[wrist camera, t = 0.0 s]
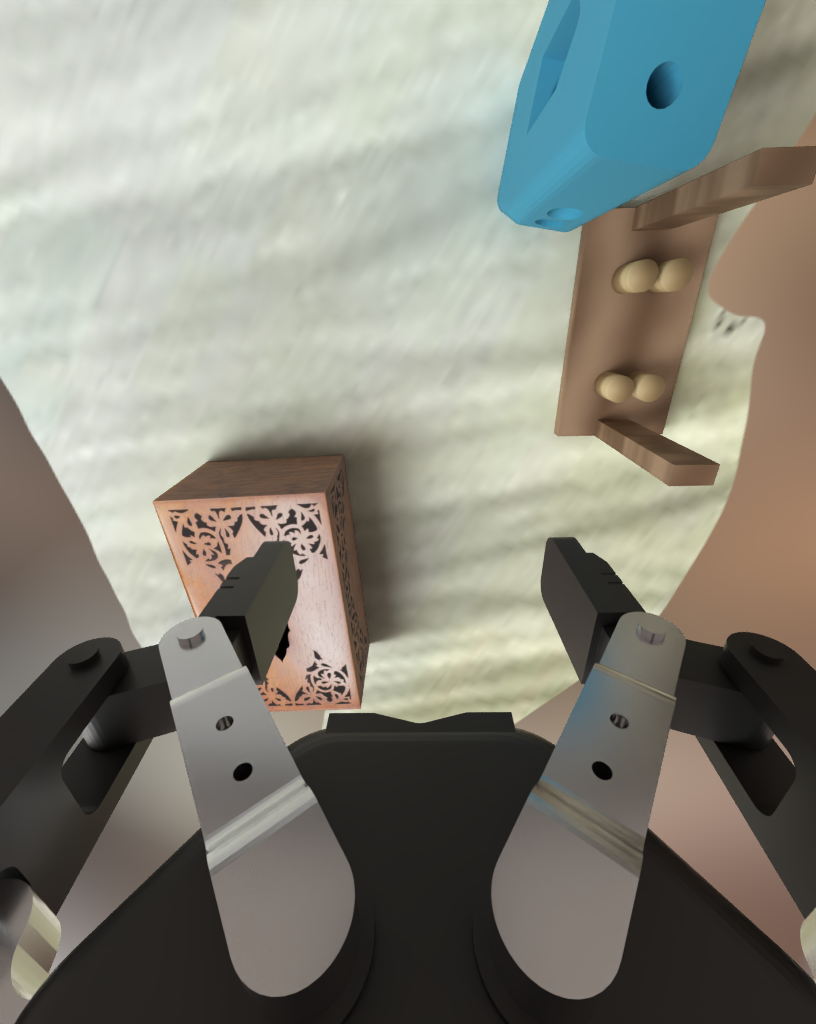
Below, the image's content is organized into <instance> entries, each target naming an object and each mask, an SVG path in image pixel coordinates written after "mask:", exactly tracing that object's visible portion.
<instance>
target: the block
mask: <svg viewBox="0 0 816 1024" xmlns="http://www.w3.org/2000/svg"><path fill="white" fill-rule="evenodd" d="M765 1H766V0H549V2H548V5H547V8H546V11H545V14H544V16H543V19H542V22H541V25H540V28H539V31H538V33H537V36H536V39H535V42H534V45H533V48H532V50H531V53H530V56H529V59H528V62H527V65H526V68H525V70H524V73H523V76H522V79H521V82H520V85H519V89H518V94H517V99H516V105H515V110H514V115H513V120H512V125H511V130H510V136H509V141H508V146H507V151H506V156H505V161H504V167H503V172H502V177H501V182H500V187H499V193H498V199H497V202H498V206H499V209H500V210H501V211H502V212H503V213H504V214H505V215H507V216H508V217H509V218H510V219H512V220H513V221H514V222H515V223H517V224H520V225H525V226H531V227H537V228H542V229H548V230H554V231H560V232H569V231H571V230H573V229H575V228H577V227H579V226H581V225H583V224H585V223H587V222H589V221H591V220H593V219H595V218H597V217H599V216H600V215H602V214H604V213H606V212H608V211H610V210H612V209H614V208H616V207H618V206H620V205H622V204H624V203H626V202H628V201H630V200H632V199H633V198H635V197H637V196H639V195H641V194H643V193H645V192H647V191H649V190H651V189H653V188H655V187H657V186H659V185H661V184H663V183H664V182H666V181H668V180H670V179H672V178H674V177H676V176H678V175H680V174H682V173H684V172H686V171H688V170H690V169H692V168H693V167H695V166H696V165H698V164H699V163H700V162H701V161H702V160H703V159H704V158H705V157H706V156H707V154H708V153H709V152H710V150H711V148H712V146H713V143H714V141H715V138H716V136H717V133H718V130H719V127H720V125H721V122H722V119H723V116H724V114H725V111H726V108H727V105H728V103H729V100H730V97H731V94H732V92H733V89H734V86H735V84H736V81H737V78H738V75H739V73H740V70H741V67H742V64H743V62H744V59H745V56H746V53H747V51H748V48H749V45H750V42H751V40H752V37H753V34H754V31H755V29H756V26H757V23H758V20H759V18H760V15H761V12H762V10H763V7H764V4H765Z"/></svg>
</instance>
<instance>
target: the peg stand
mask: <svg viewBox="0 0 816 1024" xmlns="http://www.w3.org/2000/svg"><path fill="white" fill-rule="evenodd" d="M815 174H816V146H805V147H776V148H762V149H759V150H757V151H755V152H753V153H751V154H749V155H747V156H745V157H742V158H740V159H738V160H736V161H734V162H732V163H730V164H728V165H725V166H723V167H721V168H719V169H717V170H715V171H713V172H710V173H708V174H706V175H704V176H702V177H700V178H698V179H696V180H693V181H691V182H689V183H687V184H685V185H683V186H681V187H679V188H676V189H674V190H672V191H670V192H668V193H666V194H664V195H662V196H659V197H657V198H655V199H653V200H651V201H649V202H647V203H645V204H642V205H640V206H638V207H636V208H614V209H612V210H610V211H608V212H606V213H604V214H602V215H600V216H599V217H597V218H595V219H593V220H591V221H589V222H587V223H585V224H583V225H582V232H581V240H580V247H579V254H578V262H577V269H576V276H575V284H574V291H573V298H572V306H571V313H570V320H569V328H568V335H567V343H566V350H565V357H564V365H563V372H562V379H561V387H560V394H559V401H558V409H557V416H556V424H555V431H554V433H555V434H556V435H557V436H592V435H595V436H596V437H597V438H599V439H600V440H602V441H603V442H605V443H606V444H608V445H609V446H611V447H612V448H614V449H615V450H617V451H618V452H620V453H621V454H622V455H624V456H625V457H627V458H628V459H630V460H631V461H633V462H634V463H636V464H637V465H639V466H640V467H642V468H643V469H644V470H646V471H647V472H649V473H650V474H652V475H653V476H655V477H656V478H658V479H659V480H661V481H662V482H664V483H665V484H667V485H668V486H700V485H713V484H714V481H715V478H716V475H717V472H718V469H719V466H720V464H718V463H716V462H714V461H712V460H710V459H708V458H706V457H704V456H702V455H700V454H698V453H696V452H694V451H692V450H690V449H688V448H686V447H684V446H682V445H680V444H678V443H676V442H674V441H672V440H670V439H668V438H666V437H664V436H662V435H660V434H663V430H664V426H665V422H666V418H667V414H668V410H669V406H670V402H671V398H672V394H673V390H674V387H675V383H676V379H677V375H678V371H679V367H680V363H681V359H682V355H683V351H684V347H685V343H686V339H687V336H688V332H689V328H690V324H691V320H692V316H693V312H694V308H695V304H696V300H697V296H698V292H699V288H700V285H701V281H702V277H703V273H704V269H705V265H706V261H707V257H708V253H709V249H710V245H711V241H712V237H713V234H714V230H715V226H716V222H717V218H718V214H720V213H724V212H727V211H730V210H733V209H736V208H739V207H742V206H745V205H748V204H752V203H755V202H758V201H761V200H764V199H767V198H770V197H773V196H777V195H780V194H782V193H786V192H789V191H792V190H795V189H798V188H801V187H805V186H808V185H810V184H812V183H813V180H814V177H815Z"/></svg>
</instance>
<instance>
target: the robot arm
mask: <svg viewBox="0 0 816 1024" xmlns="http://www.w3.org/2000/svg"><path fill="white" fill-rule="evenodd" d="M541 593H542V597H543V600H544V602H545V605H546V607H547V609H548V611H549V613H550V616H551V618H552V620H553V622H554V624H555V627H556V629H557V631H558V633H559V636H560V638H561V640H562V642H563V644H564V647H565V649H566V651H567V653H568V655H569V658H570V660H571V662H572V664H573V667H574V669H575V671H576V673H577V675H578V678H579V680H580V682H581V684H585V685H584V687H583V689H582V691H581V693H580V696H579V698H578V700H577V702H576V704H575V706H574V708H573V710H572V713H571V715H570V717H569V719H568V721H567V723H566V725H565V727H564V730H563V732H562V734H561V736H560V738H559V740H558V742H557V744H556V746H555V745H554V744H552V743H551V742H549V741H547V740H546V739H544V738H542V737H540V736H538V735H535V734H533V733H531V732H528V731H525V730H522V729H518V728H515V726H514V722H513V718H512V713H511V712H466V713H462V714H458V715H454V716H450V717H446V718H442V719H438V720H434V721H430V722H426V723H414V722H409V721H405V720H401V719H397V718H392V717H388V716H384V715H380V714H376V713H329V718H328V723H327V727H326V729H323V730H320V731H317V732H314V733H311V734H309V735H307V736H305V737H303V738H301V739H299V740H298V741H295V742H294V743H292V744H291V745H289V746H288V747H287V746H286V744H285V742H284V740H283V738H282V736H281V734H280V732H279V730H278V728H277V726H276V724H275V722H274V720H273V718H272V717H271V714H270V712H269V710H268V708H267V706H266V704H265V702H264V700H263V698H262V696H261V694H260V692H259V690H258V688H257V686H256V685H263V683H264V680H265V678H266V675H267V673H268V670H269V668H270V665H271V663H272V660H273V658H274V656H275V653H276V651H277V648H278V646H279V643H280V641H281V638H282V636H283V633H284V631H285V628H286V626H287V623H288V621H289V618H290V616H291V613H292V611H293V608H294V606H295V604H296V601H297V596H298V580H297V575H296V569H295V563H294V557H293V552H292V546H291V544H290V542H289V541H264V542H263V543H262V545H261V546H260V548H259V549H258V551H257V552H256V554H255V555H254V557H246V558H245V559H244V560H242V561H241V562H239V563H238V564H237V565H235V566H234V567H233V568H232V570H231V571H230V572H229V574H228V575H227V577H226V580H224V581H223V582H222V584H221V585H220V589H217V591H216V592H215V594H214V595H213V596H212V598H211V599H210V601H209V602H208V604H207V605H206V606H205V608H204V609H203V611H202V612H201V613H200V615H199V616H198V617H196V618H192V619H189V620H186V621H183V622H181V623H179V624H177V625H175V626H174V627H172V628H171V629H170V630H169V631H167V632H166V633H165V634H164V635H163V637H162V638H161V640H160V642H159V644H157V645H153V646H149V647H145V648H140V649H137V650H132V651H128V652H124V650H123V648H122V646H121V643H120V642H119V641H118V640H117V639H114V638H97V639H92V640H89V641H86V642H83V643H81V644H78V645H76V646H74V647H72V648H71V649H69V650H67V651H66V652H64V653H63V654H62V655H60V656H59V657H58V658H56V659H55V660H54V661H53V662H52V663H51V664H50V666H49V667H48V668H47V669H46V670H45V671H44V672H43V673H42V674H41V675H40V676H39V677H38V678H37V679H36V680H35V681H34V682H33V683H32V684H31V686H30V687H29V688H28V689H27V690H26V691H25V692H24V693H23V694H22V695H21V696H20V697H19V698H18V699H17V700H16V701H15V702H14V703H13V704H12V706H10V708H9V709H8V710H7V711H6V712H5V713H4V714H3V715H2V716H1V717H0V1024H816V671H815V670H814V669H813V668H812V667H811V666H810V665H809V664H808V663H807V662H806V661H805V660H804V659H803V658H802V657H801V656H800V655H799V654H797V653H796V652H795V651H794V650H792V649H791V648H789V647H788V646H786V645H784V644H783V643H781V642H779V641H777V640H774V639H772V638H769V637H766V636H763V635H759V634H756V633H750V632H738V633H734V634H731V635H730V636H729V637H728V638H727V640H726V643H725V645H724V647H720V646H714V645H710V644H705V643H700V642H695V641H691V640H687V639H685V636H684V634H683V633H682V632H681V630H680V629H679V628H678V627H677V626H676V625H674V624H673V623H671V622H670V621H668V620H666V619H664V618H662V617H660V616H657V615H654V614H651V613H646V612H645V610H644V609H643V608H642V607H641V605H640V604H639V603H638V601H637V600H636V599H635V598H634V596H633V595H632V594H631V592H630V591H629V590H628V588H627V587H626V586H625V585H624V584H622V581H621V579H620V578H619V577H618V576H617V575H615V572H614V570H613V569H612V568H611V567H610V565H609V564H608V563H607V562H606V561H605V560H603V559H602V558H600V557H598V556H597V555H595V554H594V553H586V552H585V551H584V549H583V548H582V546H581V545H580V544H579V542H578V541H577V539H576V538H574V537H553V538H548V540H547V542H546V548H545V554H544V561H543V568H542V575H541ZM670 729H673V730H677V731H680V732H684V733H687V734H691V735H695V736H696V738H697V740H698V741H699V743H700V745H701V746H702V748H703V750H704V751H705V753H706V754H707V756H708V758H709V760H710V761H711V763H712V764H713V766H714V768H715V770H716V771H717V773H718V775H719V776H720V778H721V779H722V781H723V783H724V785H725V786H726V788H727V790H728V791H729V793H730V795H731V796H732V798H733V800H734V801H735V803H736V805H737V806H738V808H739V810H740V811H741V813H742V815H743V816H744V818H745V820H746V821H747V823H748V825H749V826H750V828H751V830H752V831H753V833H754V835H755V836H756V838H757V840H758V841H759V843H760V845H761V846H762V848H763V850H764V851H765V853H766V854H767V856H768V858H769V860H770V861H771V863H772V865H773V866H774V868H775V870H776V871H777V873H778V875H779V876H780V878H781V880H782V881H783V883H784V885H785V886H786V888H787V890H788V891H789V893H790V895H791V896H792V898H793V900H794V901H795V903H796V905H797V906H798V908H799V910H800V911H801V913H802V915H803V917H804V918H805V920H804V922H803V923H802V926H801V930H800V932H801V933H800V939H801V945H802V949H803V952H804V955H805V958H806V960H807V962H808V964H809V966H810V969H811V971H812V973H813V975H814V980H813V979H812V978H811V977H810V976H809V975H808V974H807V973H806V972H805V971H804V970H803V969H802V968H801V967H800V966H799V965H798V964H797V963H796V962H795V961H794V960H793V959H792V958H791V957H790V956H789V955H788V954H786V953H785V952H784V951H783V950H782V949H781V948H780V947H779V946H778V945H777V944H775V943H774V942H773V941H772V940H771V939H770V938H769V937H768V936H767V935H766V934H764V933H763V932H762V931H761V930H760V929H759V928H758V927H757V926H756V925H754V923H752V922H751V921H750V920H749V919H748V918H747V917H746V916H745V915H744V914H743V913H741V912H740V911H739V910H738V909H737V908H736V907H735V906H734V905H733V904H732V903H730V902H729V901H728V900H727V899H726V898H725V897H724V896H723V895H721V893H719V892H718V891H717V890H716V889H715V888H714V887H713V886H712V885H710V883H708V882H707V881H706V880H705V879H704V878H703V877H702V876H701V875H700V874H699V873H697V872H696V871H695V870H694V869H693V868H692V867H691V866H690V865H689V864H687V863H686V862H685V861H684V860H683V859H682V858H681V857H680V856H679V855H678V854H676V853H675V852H674V851H673V850H672V849H671V848H670V847H669V846H668V845H666V844H665V843H664V842H663V841H662V840H661V839H660V838H659V837H658V836H657V835H655V834H654V833H653V832H652V831H651V830H650V829H649V828H648V823H649V819H650V815H651V811H652V806H653V802H654V797H655V792H656V788H657V784H658V779H659V775H660V770H661V766H662V761H663V757H664V752H665V747H666V743H667V739H668V734H669V730H670ZM174 731H177V734H178V738H179V742H180V746H181V750H182V754H183V758H184V762H185V766H186V770H187V774H188V778H189V782H190V786H191V790H192V794H193V798H194V802H195V806H196V810H197V814H198V818H199V822H200V826H201V828H200V829H199V830H198V831H197V832H196V833H195V834H194V835H193V836H192V837H191V838H190V839H188V840H187V841H186V842H185V843H184V844H183V845H182V846H181V847H180V848H179V849H178V850H177V851H176V852H175V853H174V854H173V855H172V856H171V857H170V858H169V859H168V860H167V861H166V862H164V864H162V865H161V866H160V867H159V868H158V869H157V870H156V871H155V872H154V873H153V874H152V875H151V876H150V877H149V878H148V879H147V880H146V881H145V882H144V883H143V884H142V885H141V886H140V887H138V889H137V890H135V891H134V892H133V893H132V894H131V895H130V896H129V897H128V898H127V899H126V900H125V901H124V902H123V903H122V904H121V905H120V906H119V907H118V908H117V909H116V910H115V911H113V913H111V914H110V915H109V916H108V917H107V918H106V919H105V920H104V921H103V922H102V923H101V924H100V925H99V926H98V927H97V928H96V929H95V930H94V931H93V932H92V933H91V934H89V935H88V936H87V938H85V939H84V940H83V941H82V942H81V943H80V944H79V945H78V946H77V947H76V948H75V949H74V950H73V951H72V952H71V953H70V954H69V955H68V956H67V957H66V958H65V959H64V960H63V961H62V962H61V963H60V964H59V965H58V966H57V967H56V968H55V969H54V971H53V972H52V973H51V974H50V972H49V970H50V968H51V966H52V963H53V960H54V958H55V956H56V953H57V950H58V947H59V943H60V937H61V927H60V923H59V920H58V918H57V917H56V915H57V913H58V911H59V909H60V908H61V906H62V904H63V902H64V900H65V898H66V896H67V895H68V893H69V891H70V889H71V887H72V886H73V884H74V882H75V880H76V878H77V876H78V875H79V873H80V870H81V869H82V867H83V865H84V864H85V862H86V860H87V858H88V856H89V855H90V853H91V851H92V849H93V847H94V845H95V844H96V842H97V840H98V838H99V836H100V834H101V832H102V831H103V829H104V827H105V825H106V823H107V822H108V820H109V818H110V816H111V814H112V812H113V810H114V809H115V807H116V805H117V803H118V801H119V800H120V797H121V796H122V794H123V792H124V790H125V788H126V787H127V785H128V783H129V781H130V779H131V777H132V776H133V774H134V772H135V770H136V768H137V767H138V765H139V763H140V761H141V759H142V758H143V756H144V754H145V752H146V750H147V748H148V746H149V745H150V743H151V741H152V739H153V737H156V736H160V735H164V734H167V733H170V732H174ZM81 734H82V736H83V739H82V740H81V742H80V743H79V744H78V746H77V747H76V749H75V750H74V752H73V753H72V754H71V756H70V757H69V758H68V760H67V761H66V763H65V764H64V765H63V762H64V759H65V757H66V755H67V753H68V752H69V750H70V749H71V747H72V746H73V744H74V743H75V742H76V740H77V739H78V738H79V736H80V735H81ZM774 734H775V735H776V737H777V738H778V739H779V740H780V742H781V743H782V744H783V745H784V747H785V748H786V749H787V751H788V752H789V754H790V755H791V757H792V760H793V762H794V765H795V767H794V765H793V764H792V763H791V761H790V760H789V759H788V758H787V756H786V755H785V754H784V752H783V751H782V750H781V749H780V747H779V746H778V745H777V743H776V742H775V741H774V739H773V738H772V737H773V735H774ZM62 765H63V767H62Z"/></svg>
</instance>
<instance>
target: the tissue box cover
mask: <svg viewBox="0 0 816 1024" xmlns="http://www.w3.org/2000/svg"><path fill="white" fill-rule="evenodd" d="M153 504H154V507H155V509H156V512H157V515H158V517H159V520H160V523H161V526H162V528H163V531H164V534H165V536H166V539H167V542H168V544H169V547H170V550H171V552H172V555H173V558H174V561H175V563H176V566H177V569H178V571H179V574H180V577H181V579H182V582H183V585H184V588H185V590H186V593H187V596H188V598H189V601H190V604H191V606H192V609H193V612H194V614H195V617H198V616H199V615H200V613H201V612H202V611H203V609H204V608H205V606H206V605H207V604H208V602H209V601H210V599H211V598H212V596H213V595H214V594H215V592H216V591H217V589H220V585H221V584H222V582H223V581H224V580H226V577H227V575H228V574H229V572H230V571H231V570H232V568H233V567H234V566H235V565H237V564H238V563H239V562H241V561H242V560H244V559H245V558H246V557H254V555H255V554H256V552H257V551H258V549H259V548H260V546H261V545H262V543H263V542H264V541H289V542H290V544H291V546H292V552H293V557H294V563H295V569H296V575H297V580H298V596H297V601H296V604H295V606H294V608H293V611H292V613H291V616H290V618H289V621H288V623H287V626H286V628H285V631H284V633H283V636H282V638H281V642H282V643H283V644H284V646H282V647H278V648H277V651H276V653H275V656H274V658H273V660H272V663H271V665H270V668H269V670H268V673H267V675H266V678H265V680H264V683H263V685H256V686H257V688H258V690H259V692H260V694H261V696H262V698H263V700H264V702H265V704H266V706H267V708H268V710H269V712H276V711H306V710H340V709H361V703H362V695H363V688H364V680H365V673H366V666H367V658H368V651H369V637H368V630H367V622H366V615H365V608H364V600H363V593H362V586H361V579H360V571H359V564H358V557H357V549H356V542H355V535H354V527H353V520H352V513H351V505H350V498H349V491H348V483H347V476H346V469H345V462H344V455H330V456H312V457H294V458H277V459H259V460H241V461H223V462H206V463H205V464H203V465H202V466H201V467H199V468H198V469H197V470H195V471H194V472H192V473H191V474H190V475H188V476H187V477H185V478H184V479H183V480H181V481H180V482H179V483H177V484H176V485H174V486H173V487H172V488H170V489H169V490H168V491H166V492H165V493H163V494H162V495H161V496H159V497H158V498H157V499H155V500H154V501H153Z"/></svg>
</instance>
